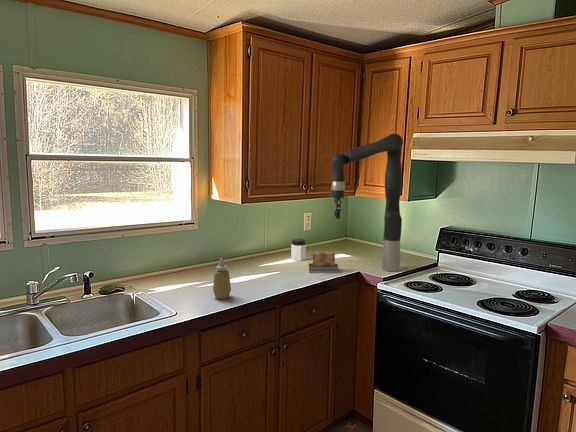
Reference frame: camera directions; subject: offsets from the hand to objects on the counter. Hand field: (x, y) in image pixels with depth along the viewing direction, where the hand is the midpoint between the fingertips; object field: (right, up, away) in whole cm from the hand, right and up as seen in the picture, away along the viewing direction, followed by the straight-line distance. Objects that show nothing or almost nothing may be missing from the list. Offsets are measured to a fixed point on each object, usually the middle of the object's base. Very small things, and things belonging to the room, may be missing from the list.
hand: (337, 217), depth 245 cm
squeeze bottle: (-58, -36, -52) cm, 86 cm away
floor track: (-9, -30, -8) cm, 32 cm away
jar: (-22, -26, +17) cm, 38 cm away
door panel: (-9, -28, -9) cm, 31 cm away
